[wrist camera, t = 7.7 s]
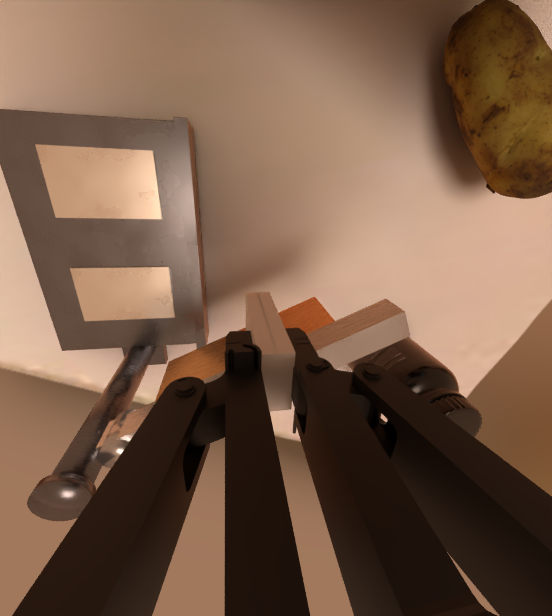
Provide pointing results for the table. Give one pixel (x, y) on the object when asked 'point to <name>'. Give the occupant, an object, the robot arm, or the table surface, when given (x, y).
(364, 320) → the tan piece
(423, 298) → the table surface
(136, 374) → the post
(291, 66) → the table surface
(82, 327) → the metal plate with cutouts
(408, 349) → the supplement bottle
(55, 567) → the robot arm
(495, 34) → the potato
